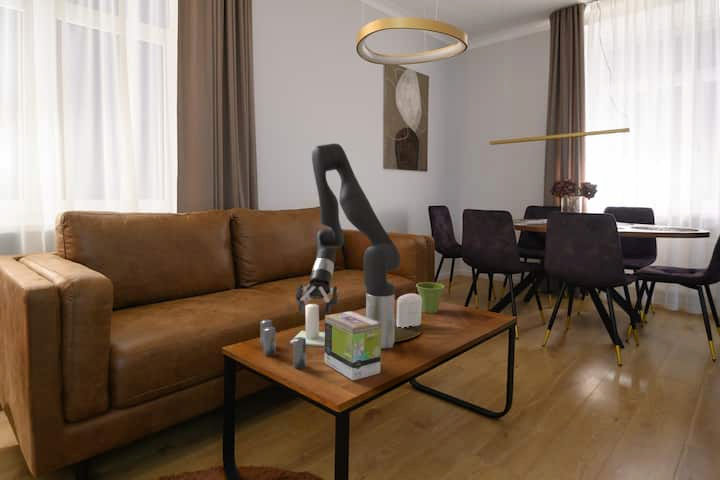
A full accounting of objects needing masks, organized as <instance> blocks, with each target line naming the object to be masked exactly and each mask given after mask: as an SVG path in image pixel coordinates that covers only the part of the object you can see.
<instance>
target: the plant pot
mask: <svg viewBox="0 0 720 480" xmlns="http://www.w3.org/2000/svg"><path fill="white" fill-rule="evenodd" d="M415 286H416V288H417V292H418V295H420V296H421V298H422V310H421V313H424V314H425V313H427V314H436V313H438V312H439V308H440V303H441V297H442V293H443V291H444V290H443V289H444V288H445V285H443V283H438V282H418V283H417V284H415Z"/></svg>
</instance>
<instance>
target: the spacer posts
mask: <svg viewBox="0 0 720 480" xmlns="http://www.w3.org/2000/svg"><path fill="white" fill-rule="evenodd" d="M292 339H293V338H292ZM276 340H277V339H276V327H274V326H273V321H272V319H262V320H260V346H261V347H262V346H263V347H262V348H263V355H264V356H265V355H266V356H265V357H273V356H275V355H276V354H277V353H276V346H277V343H276ZM306 347H307V345H306V339H305V338H303V337H297V338H294V339H293V344H292V359H293V360H292V364H293V366H292V367H293V368H294V369H298V370H299V369H305V368H306V366H307V365H306V364H307V361H306V360H307V357H306V355H307V352H306V351H307V348H306Z"/></svg>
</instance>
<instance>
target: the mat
mask: <svg viewBox="0 0 720 480" xmlns="http://www.w3.org/2000/svg"><path fill="white" fill-rule="evenodd" d="M297 337H303V338H305V339H306V346H315V347H325V331H324V332H323V331H319V338H317V339H307V338H306V330H300V331H299V333H297V334H296V336H294V338H297ZM294 338H292V340H290V341H289V344H290V345H293V339H294Z"/></svg>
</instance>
